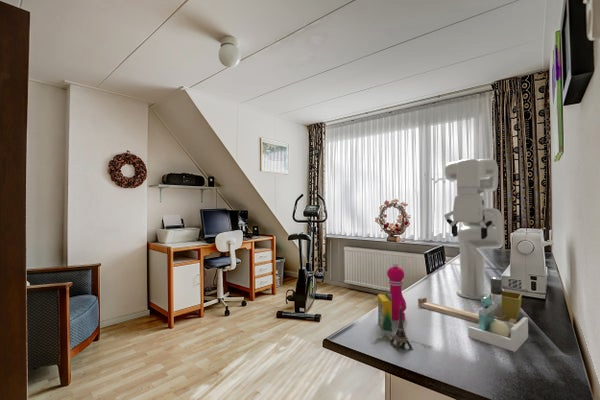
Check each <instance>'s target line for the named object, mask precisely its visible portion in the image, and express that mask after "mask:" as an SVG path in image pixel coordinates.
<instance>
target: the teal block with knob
mask: <svg viewBox="0 0 600 400" xmlns="http://www.w3.org/2000/svg"><path fill="white" fill-rule="evenodd" d="M502 291H503V279H502V278H501V277H497V276H491V277H490V293H491V299H490V297H489V298H488V297H483V298H482V299H481V300H480V303H481V305H483V306H481V307H480V308H479V309H478V315H479V323H478V329H480V330H484V331H487V332H491V331H490V325H491V323H492V322H494V319H497V320H501V321H505V322H506V320H505V315H502Z"/></svg>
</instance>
